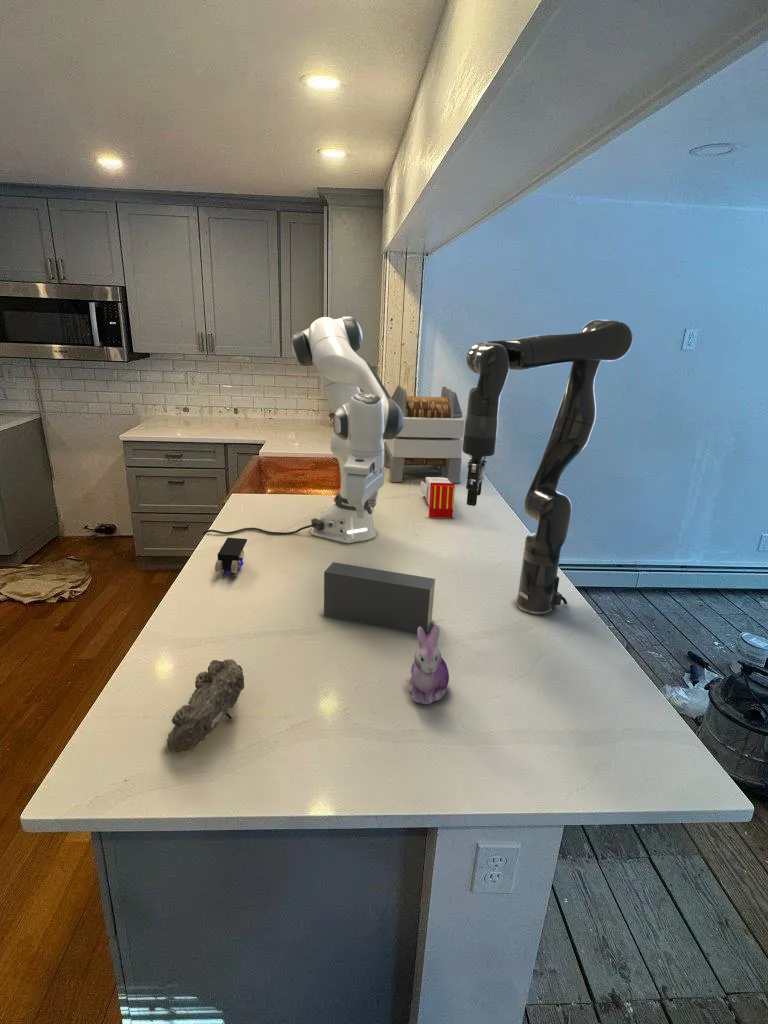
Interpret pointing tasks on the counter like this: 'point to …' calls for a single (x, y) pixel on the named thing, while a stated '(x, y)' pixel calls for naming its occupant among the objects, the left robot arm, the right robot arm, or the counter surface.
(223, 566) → the black toy vehicle
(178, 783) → the counter surface
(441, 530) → the counter surface
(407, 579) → the box
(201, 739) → the fossil
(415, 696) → the figurine
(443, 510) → the toy
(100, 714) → the counter surface
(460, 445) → the transformer
